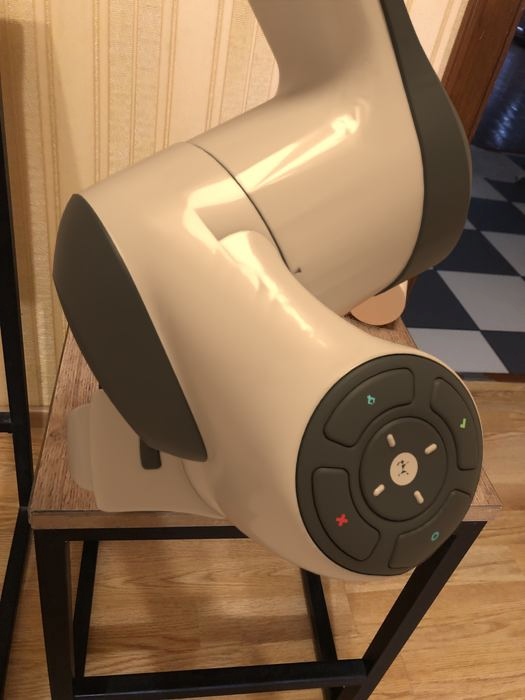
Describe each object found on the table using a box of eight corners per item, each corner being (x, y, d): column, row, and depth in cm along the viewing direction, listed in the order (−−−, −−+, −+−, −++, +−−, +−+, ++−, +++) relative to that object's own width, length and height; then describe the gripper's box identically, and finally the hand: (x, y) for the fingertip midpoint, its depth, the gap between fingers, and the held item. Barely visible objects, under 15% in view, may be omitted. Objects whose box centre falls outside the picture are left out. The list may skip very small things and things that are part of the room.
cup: (313, 293, 84) (324, 261, 92) (383, 334, 85) (389, 299, 93) (343, 250, 79) (352, 220, 86) (417, 294, 80) (419, 260, 88)
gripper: (410, 370, 36) (321, 378, 49) (60, 391, 30) (66, 394, 43) (419, 473, 35) (327, 453, 49) (66, 517, 29) (69, 480, 42)
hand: (202, 425), depth 46 cm, fingers open, 8 cm apart
